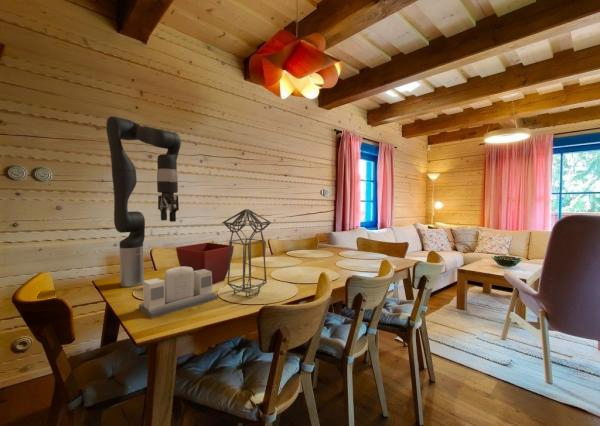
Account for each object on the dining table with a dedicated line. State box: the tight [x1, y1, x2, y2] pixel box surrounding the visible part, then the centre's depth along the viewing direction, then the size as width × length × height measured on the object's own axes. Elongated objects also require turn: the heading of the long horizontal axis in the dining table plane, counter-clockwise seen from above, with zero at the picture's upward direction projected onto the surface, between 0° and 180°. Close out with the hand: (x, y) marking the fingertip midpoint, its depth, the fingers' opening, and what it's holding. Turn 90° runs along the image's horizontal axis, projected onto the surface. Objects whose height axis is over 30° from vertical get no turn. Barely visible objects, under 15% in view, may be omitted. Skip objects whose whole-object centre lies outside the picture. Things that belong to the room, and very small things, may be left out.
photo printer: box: [163, 266, 194, 303], centre depth 104 cm, size 10×4×12 cm, turn 126°
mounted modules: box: [142, 269, 213, 309], centre depth 104 cm, size 6×23×9 cm, turn 137°
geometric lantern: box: [220, 208, 272, 298], centre depth 115 cm, size 16×16×35 cm
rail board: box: [138, 290, 218, 319], centre depth 105 cm, size 12×24×2 cm, turn 137°
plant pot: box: [175, 242, 235, 285], centre depth 133 cm, size 19×19×17 cm
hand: (168, 221), depth 114 cm, fingers open, 8 cm apart
